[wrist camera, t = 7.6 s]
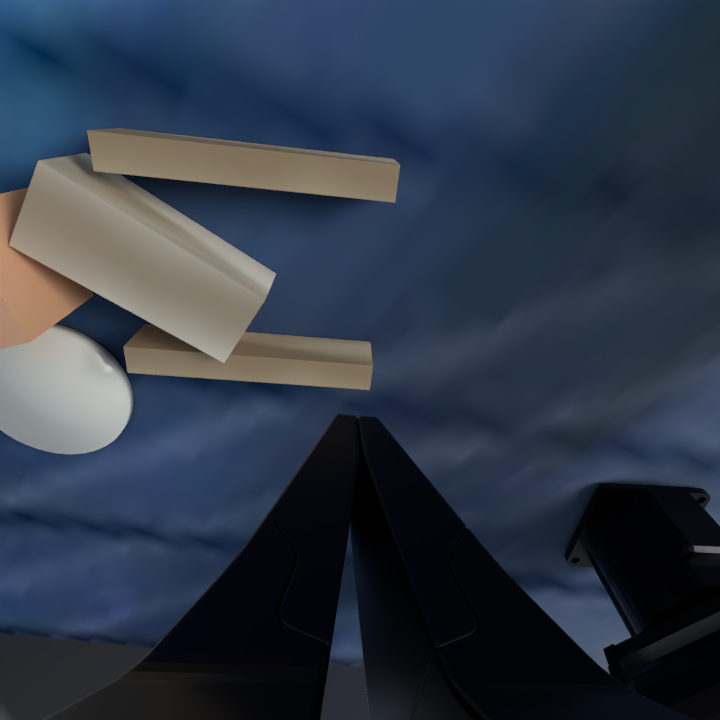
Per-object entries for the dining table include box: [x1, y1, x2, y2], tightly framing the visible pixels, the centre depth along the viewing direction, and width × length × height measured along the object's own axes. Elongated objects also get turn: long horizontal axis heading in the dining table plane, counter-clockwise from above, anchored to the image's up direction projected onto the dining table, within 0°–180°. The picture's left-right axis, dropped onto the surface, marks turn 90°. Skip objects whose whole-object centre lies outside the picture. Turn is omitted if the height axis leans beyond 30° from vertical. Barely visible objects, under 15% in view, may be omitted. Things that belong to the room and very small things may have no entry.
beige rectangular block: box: [9, 153, 276, 363], centre depth 17 cm, size 3×8×3 cm, turn 54°
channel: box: [87, 128, 400, 390], centre depth 18 cm, size 9×10×2 cm
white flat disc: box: [0, 324, 134, 454], centre depth 21 cm, size 7×7×1 cm
